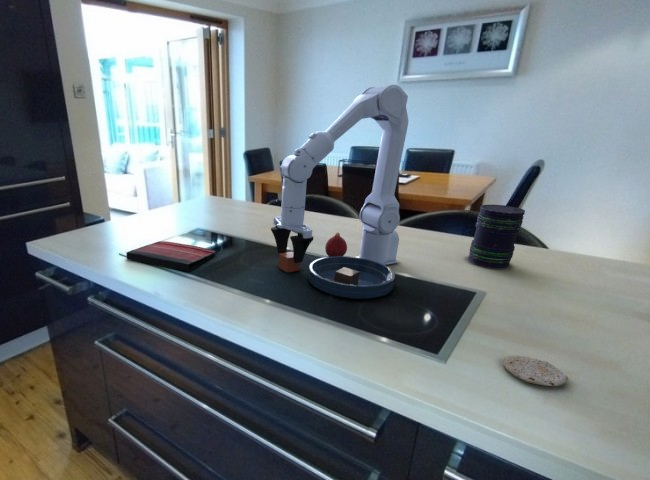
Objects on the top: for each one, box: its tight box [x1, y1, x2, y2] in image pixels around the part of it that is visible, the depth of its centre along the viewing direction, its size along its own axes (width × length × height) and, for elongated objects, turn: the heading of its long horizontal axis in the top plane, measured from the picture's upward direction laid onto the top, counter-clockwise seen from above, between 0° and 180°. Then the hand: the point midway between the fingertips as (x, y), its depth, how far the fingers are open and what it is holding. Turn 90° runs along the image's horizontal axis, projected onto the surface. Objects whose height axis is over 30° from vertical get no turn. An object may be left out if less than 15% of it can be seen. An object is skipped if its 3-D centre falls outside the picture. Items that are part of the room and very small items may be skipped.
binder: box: [125, 240, 217, 273], centre depth 111 cm, size 16×2×21 cm
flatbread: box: [502, 355, 569, 387], centre depth 61 cm, size 8×8×1 cm
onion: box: [324, 232, 348, 257], centre depth 107 cm, size 6×6×8 cm
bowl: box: [307, 255, 396, 300], centre depth 93 cm, size 19×19×4 cm
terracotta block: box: [278, 251, 301, 273], centre depth 102 cm, size 4×4×4 cm
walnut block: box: [334, 267, 360, 285], centre depth 89 cm, size 4×4×4 cm
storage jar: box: [467, 204, 526, 270], centre depth 104 cm, size 10×10×15 cm
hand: (289, 257), depth 101 cm, fingers open, 7 cm apart
